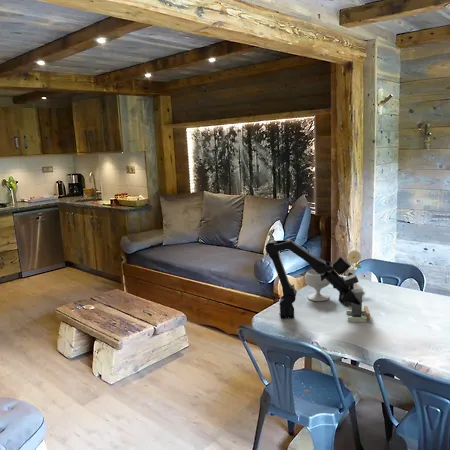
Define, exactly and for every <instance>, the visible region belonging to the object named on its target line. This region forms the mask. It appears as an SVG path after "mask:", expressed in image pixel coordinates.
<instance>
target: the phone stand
mask: <svg viewBox="0 0 450 450" xmlns="http://www.w3.org/2000/svg"><path fill="white" fill-rule="evenodd" d="M352 285H353V289H354V284H352ZM350 286H351V285H350ZM338 293H339V292H338ZM342 294H343V293H342ZM342 294H340V293H339V295H338V302H339V303H340V304H341V305H342V306H343V307H345V308H346V307H351V302H348V301H347V302H346V303H344V302H343V301H342Z"/></svg>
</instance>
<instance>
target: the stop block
mask: <svg viewBox="0 0 450 450" xmlns="http://www.w3.org/2000/svg"><path fill="white" fill-rule="evenodd" d="M352 290H353V291H354V292H355V297H356V298H357V299H358V300H359V302H360V303H361V304H360V305H357V304H354V303H351V306H350V310H351V314H350V315H351V317H363V314H362V310H363V291H361V289H352Z"/></svg>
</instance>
